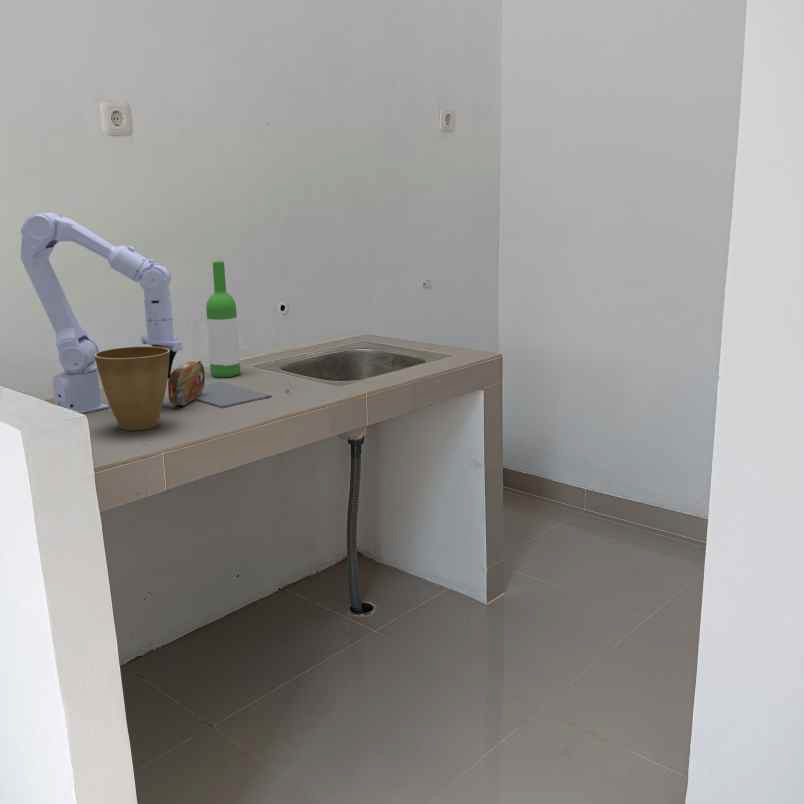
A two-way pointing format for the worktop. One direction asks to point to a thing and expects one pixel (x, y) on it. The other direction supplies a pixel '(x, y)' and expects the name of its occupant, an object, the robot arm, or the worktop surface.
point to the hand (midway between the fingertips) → (164, 378)
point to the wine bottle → (222, 327)
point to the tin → (186, 383)
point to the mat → (228, 394)
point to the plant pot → (134, 384)
